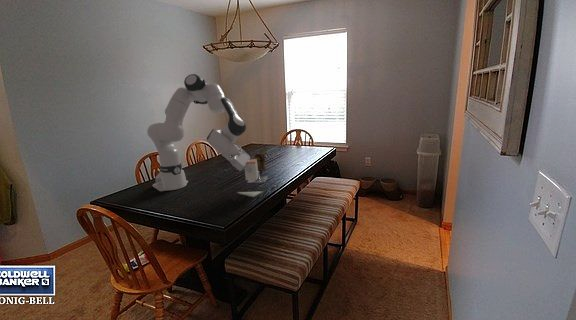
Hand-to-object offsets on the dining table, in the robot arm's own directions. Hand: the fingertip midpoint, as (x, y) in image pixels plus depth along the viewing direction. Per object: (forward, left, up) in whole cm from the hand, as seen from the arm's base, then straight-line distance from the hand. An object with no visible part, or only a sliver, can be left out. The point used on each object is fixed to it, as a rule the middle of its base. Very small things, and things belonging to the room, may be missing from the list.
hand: (252, 169), depth 154 cm
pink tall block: (-1, 0, -5) cm, 5 cm away
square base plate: (-10, +14, -13) cm, 22 cm away
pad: (0, -1, -13) cm, 13 cm away
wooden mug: (-23, +32, -13) cm, 42 cm away
